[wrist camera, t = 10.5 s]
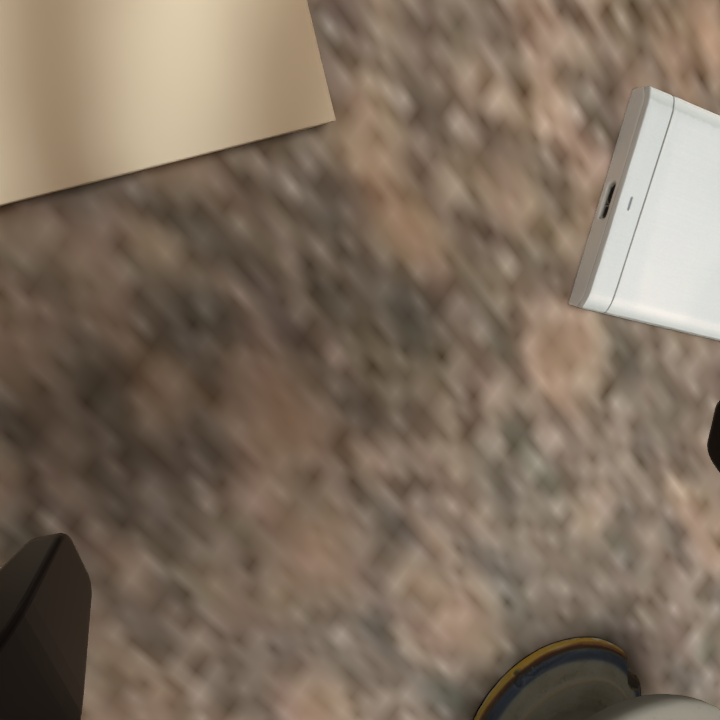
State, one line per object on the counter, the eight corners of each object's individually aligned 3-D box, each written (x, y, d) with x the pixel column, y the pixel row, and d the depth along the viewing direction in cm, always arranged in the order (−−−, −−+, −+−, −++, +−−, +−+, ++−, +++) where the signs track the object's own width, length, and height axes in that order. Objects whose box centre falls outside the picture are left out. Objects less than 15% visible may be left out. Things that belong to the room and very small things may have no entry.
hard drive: (868, 176, 26) (657, 83, 21) (799, 360, 27) (587, 310, 23) (828, 177, 27) (622, 90, 23) (765, 351, 29) (559, 302, 24)
